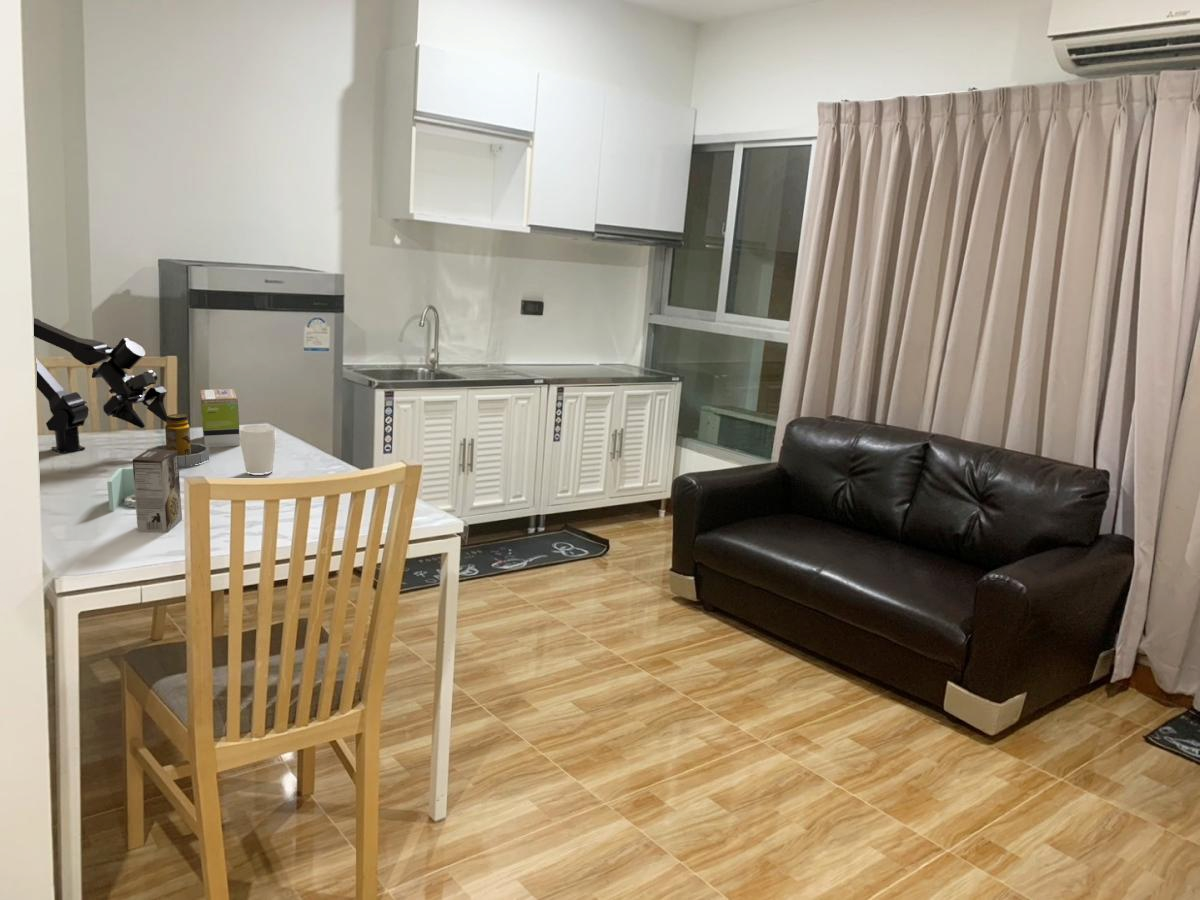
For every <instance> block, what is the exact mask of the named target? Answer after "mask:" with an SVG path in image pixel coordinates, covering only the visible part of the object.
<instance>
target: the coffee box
mask: <svg viewBox="0 0 1200 900" xmlns="http://www.w3.org/2000/svg"><path fill="white" fill-rule="evenodd" d="M147 449H148V450H147ZM147 449H146V450H145V451H143V452H142V453H141V454H139V455H137V456H136V457H135V458H133V459H132V468H133V474H134V486H135V500H136V508H135V510H136V511H135V513H136V523H137V525H136V526H137V527H136V528H137V532H139V533H164V534H165V533H169V531H170V530H172V529H173V528H174V527H175V526H176V525H178V523H180V521H182V520H183V513H182V512H183V511H182V498H181V483H180V482H181V481H180V470H179V469H180V467H178V454H177V450H162V449H149V448H147Z"/></svg>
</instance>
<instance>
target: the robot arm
mask: <svg viewBox="0 0 1200 900" xmlns="http://www.w3.org/2000/svg"><path fill="white" fill-rule="evenodd" d="M34 336H35V337H34ZM34 336H33V337H34V338H36V339H39V340H41V341H44V342H46V343H48V344H50V345H53V346H56V347H57V348H60V349H62V350H64V351H66V352H68V353H70V354H71V356H72V357H73V358H74V359H75V360H76V361H79V362H81V363H82V364H83V365H85V366H94V365H97V364H100V365H98V367H93V368H92V373H91V378H92V379H99V378H101V379H102V380H104V382H105V383H106V384H107V385H108V386H109V387H110V389H109V390H108V392H109V393H110V394H115V395H112V396H111V397H110V398H109V399H108V400H107V401H106V402H105V403H104V405H102V408H103V412H104V414H106V415H107V417H110V416H112V417H113V418H117V419H119V420H122V421H125V422H126V423H127V422H128V423H130V424H131V425H134V426H135V427H138V428H141V429H144V428H145V427H146V425H145V423H144V421H143V420H142V418H140V417H139V414H138V413H137V412H136V411H135V409H134V408H133V407H134V406H133V405H135V404H139V403H142V404H143V406H146V409H147V410H148V411H150V412H151V413H152V414H153V415H155V416H156V417H158V418H159V419H160V420H162V421H163V422H165V423H166V421H167V420H166V417H167V416H168V414H167V411H166V408H165V406H164V398H165V397H166V394H167V393H168V391H167V390H166V388H165V387H164V386H162V385H158V386H153V387H149V386H151V385H155V384H156V383H157V382H156V381H158V375H157V373H155V372H154V371H153V369H150V370H149V369H148V370H146V371H144V372H143V373H141V374H138V375H134V374H133V375H130V374H128V372H127V371H126V370H131V369H133V367H135V366H136V365H137V364H138V363H139V362H140V360H142V359H143V357H145V356H146V350H145V349H144V348H143V347H142V346H141V345H140V344H138V343H137V342H136V341H133V340H130V339H129V338H128V337H124V338H121V340H120V341H119V342H118V344H116V346H115V347H111V346H108V345H107V343H104V342H102V341H99V340H95V339H89V338H82V337H78V336H76V335H73V334H72V333H69V332H67V331H64V330H62V329H60V328H57V327H55V326H53V325H50V324H48V323H46V322H44V321H42V320H41V319H38V318H35V317H34ZM36 363H37V387H36V389H38V391H39V392H40V393H41V394H42V395H43V396H44V398H45V399H46V400H47V401H48V405H49V410H50V413H51V415H52V416H51V417H50V419H48V420H47V421H46V422H45V425H46V427H47V430H48V431H53V432H54V435H55V436H54V437H55V446H51V450H53V451H56V452H58V453H60V452H63V453H68V452H75V451H81V450H82V451H83V450H85V449H86V447H85V446H83V445H81V444H80V442H81V441H80V434H79V427H81V426H84V425H85V421H86V419H87V418H88V416H89V411H90V410H89V407H88V405H87V403H88V402H87V401H85V400H84V399H83V398H82V396H81V395H80V393H78V392H77V391H74V392H68V391H66V390H65V389H64V388H63V386H62V385H60V384H59V382H58V381H57V380H56V379H55V378H54V376H53V375H52V374H51V373H50V371H49V370H47V368H46V367H45V366H44V365H43V364H42V363H41V362H40V360H39V359H38V358H37V357H36ZM147 387H149V389H148V388H147ZM147 389H148V390H147ZM144 392H145V393H144Z"/></svg>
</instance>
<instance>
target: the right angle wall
mask: <svg viewBox="0 0 1200 900" xmlns="http://www.w3.org/2000/svg"><path fill="white" fill-rule="evenodd" d="M106 483H107V495H108V507H109V508H108V510H109V512H110V511H111V512H115V511H116V510H117V508H118V507H119V506H120V504H121V503H122V501H123V500H124V501H123V502H124V503H123V504H124V506H127V507H131V508H135V509H136V500H135V486H134V474H133V467H119V468H118V469H117V470H116V471H115V472H114V473H113V474H112V476H111V477H110V478H109V479H108V480H107V481H106ZM117 506H118V507H117ZM114 510H115V511H114Z"/></svg>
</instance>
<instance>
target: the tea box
mask: <svg viewBox="0 0 1200 900" xmlns="http://www.w3.org/2000/svg"><path fill="white" fill-rule="evenodd" d="M199 391H200V395H199V396H200V409H201V411H200V412H201V423H202V424H201V425H202V427H201V428H202V435H203V445H205V446H208V447H209V448H220V447H223V448H225V447H238V446H239V447H240V446H241V443H240V417H239V402H238V397H237V394H236V392H235V389H234V388H226V389H225V388H221V389H217V388H216V389H200V390H199Z"/></svg>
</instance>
